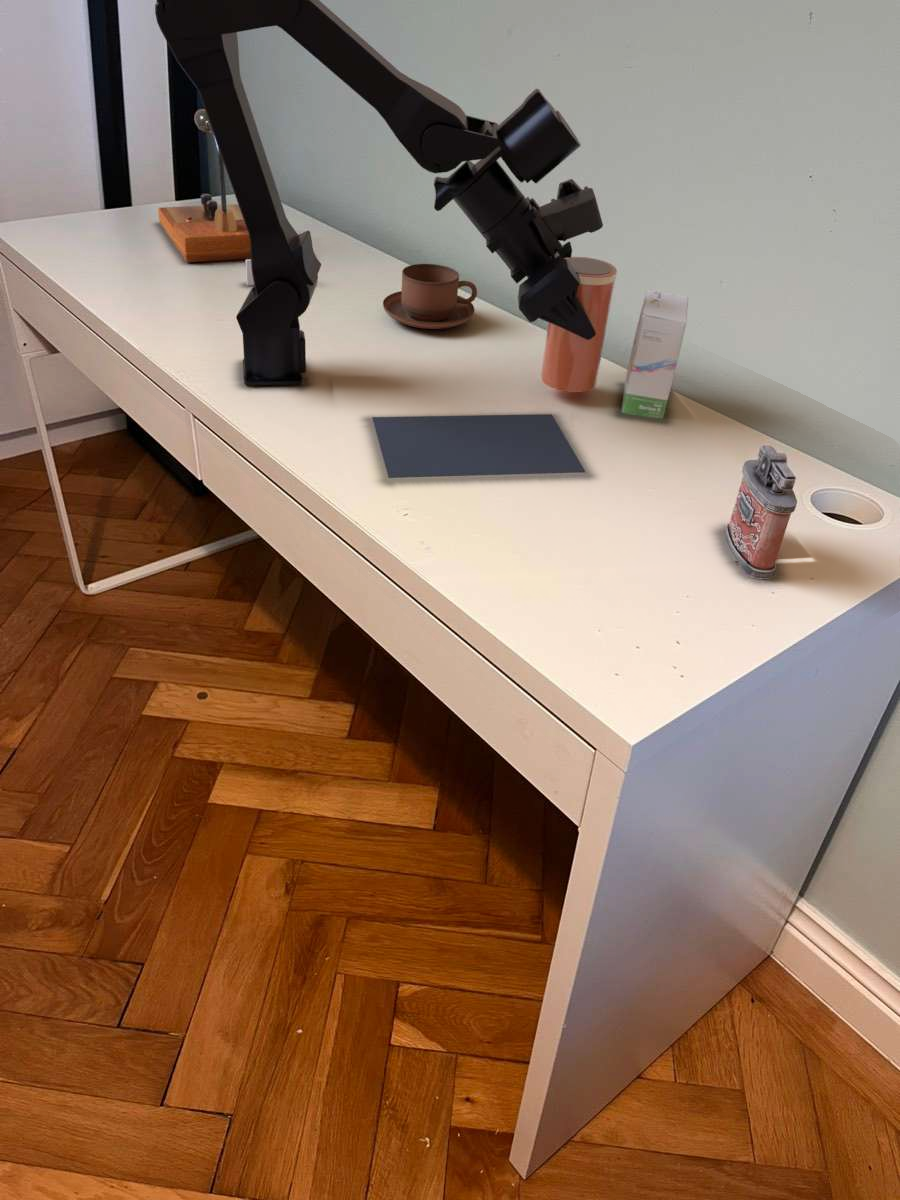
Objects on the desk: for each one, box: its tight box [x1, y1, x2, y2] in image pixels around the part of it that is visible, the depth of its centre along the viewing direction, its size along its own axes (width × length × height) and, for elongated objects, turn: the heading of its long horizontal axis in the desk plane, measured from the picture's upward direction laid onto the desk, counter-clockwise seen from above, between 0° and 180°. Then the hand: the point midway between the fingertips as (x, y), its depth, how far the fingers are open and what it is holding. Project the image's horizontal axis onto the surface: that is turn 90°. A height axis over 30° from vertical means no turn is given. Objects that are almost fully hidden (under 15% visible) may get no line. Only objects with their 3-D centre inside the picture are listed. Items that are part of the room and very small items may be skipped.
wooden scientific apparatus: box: [158, 108, 254, 287], centre depth 142 cm, size 14×30×18 cm, turn 24°
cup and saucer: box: [382, 263, 478, 330], centre depth 129 cm, size 12×12×6 cm
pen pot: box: [540, 256, 618, 393], centre depth 109 cm, size 6×6×13 cm
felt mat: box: [371, 413, 586, 479], centre depth 103 cm, size 20×13×1 cm, turn 101°
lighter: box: [724, 444, 798, 580], centre depth 87 cm, size 8×3×10 cm, turn 5°
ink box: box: [621, 290, 689, 419], centre depth 111 cm, size 9×5×12 cm, turn 168°
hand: (589, 325), depth 109 cm, fingers closed on pen pot, 6 cm apart
